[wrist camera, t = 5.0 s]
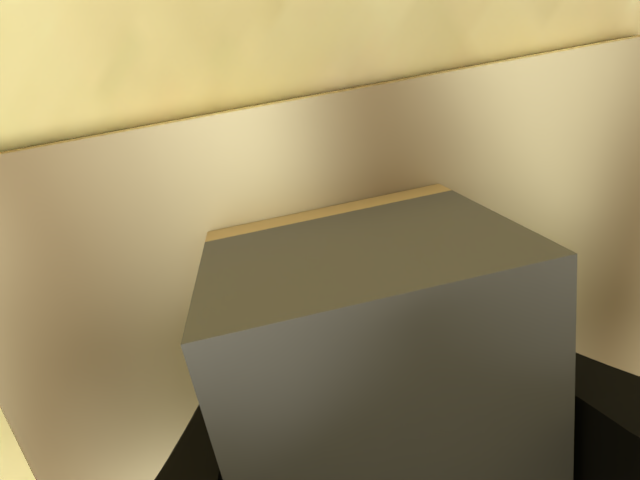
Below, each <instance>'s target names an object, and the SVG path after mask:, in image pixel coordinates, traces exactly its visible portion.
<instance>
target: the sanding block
mask: <svg viewBox="0 0 640 480" xmlns="http://www.w3.org/2000/svg"><path fill="white" fill-rule="evenodd" d="M576 306H577V253H575V252H573V251H571V250H569V249H567V248H565V247H563V246H561V245H559V244H557V243H555V242H554V241H552V240H550V239H548V238H546V237H544V236H542V235H540V234H538V233H536V232H534V231H532V230H530V229H528V228H526V227H524V226H522V225H520V224H518V223H516V222H514V221H512V220H510V219H508V218H506V217H504V216H502V215H500V214H498V213H496V212H494V211H492V210H490V209H488V208H486V207H484V206H482V205H480V204H478V203H476V202H474V201H472V200H470V199H469V198H467V197H465V196H463V195H461V194H459V193H457V192H455V191H453V190H451V189H449V188H447V187H445V186H443V185H441V184H434V185H430V186H425V187H420V188H415V189H410V190H406V191H401V192H396V193H391V194H386V195H382V196H377V197H372V198H367V199H362V200H358V201H353V202H348V203H343V204H338V205H334V206H329V207H324V208H319V209H315V210H310V211H305V212H300V213H295V214H291V215H286V216H281V217H276V218H271V219H267V220H262V221H257V222H252V223H247V224H243V225H238V226H233V227H228V228H223V229H219V230H214V231H209V232H207V235H206V240H205V244H204V248H203V252H202V256H201V261H200V265H199V269H198V273H197V277H196V281H195V286H194V290H193V294H192V298H191V302H190V307H189V311H188V315H187V319H186V323H185V327H184V332H183V336H182V340H181V344H180V345H181V348H182V351H183V355H184V358H185V361H186V364H187V367H188V371H189V374H190V377H191V380H192V383H193V386H194V390H195V393H196V396H197V399H198V402H199V406H200V409H201V412H202V415H203V418H204V421H205V425H206V428H207V431H208V434H209V437H210V441H211V444H212V447H213V450H214V453H215V456H216V460H217V463H218V466H219V469H220V472H221V476H222V479H223V480H573V471H574V416H575V361H576Z"/></svg>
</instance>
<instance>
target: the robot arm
mask: <svg viewBox="0 0 640 480" xmlns="http://www.w3.org/2000/svg"><path fill="white" fill-rule="evenodd" d="M154 480H223V479H222V476H221V472H220V469H219V466H218V463H217V460H216V456H215V453H214V450H213V447H212V444H211V441H210V437H209V434H208V431H207V428H206V425H205V421H204V418H203V415H202V412H201V409H200V406H199V405H198V407H197V409H196V410H195V412H194V414H193V416H192V418H191V419H190V421H189V423H188V425H187V427H186V428H185V430H184V432H183V434H182V435H181V437H180V439H179V440H178V442H177V444H176V445H175V447H174V449H173V451H172V452H171V454H170V456H169V457H168V459H167V461H166V462H165V464H164V465H163V467H162V469H161V470H160V472H159V473H158V475H157V476H156V478H155V479H154ZM573 480H640V376H637V375H634V374H631V373H629V372H626V371H623V370H620V369H618V368H615V367H612V366H609V365H607V364H604V363H601V362H599V361H596V360H594V359H591V358H589V357H586V356H584V355H581V354H579V353H576V361H575V416H574V471H573Z"/></svg>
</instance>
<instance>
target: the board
mask: <svg viewBox="0 0 640 480" xmlns="http://www.w3.org/2000/svg"><path fill="white" fill-rule="evenodd" d="M434 184H441V185H443V186H445V187H447V188H449V189H451V190H453V191H455V192H457V193H459V194H461V195H463V196H465V197H467V198H469V199H470V200H472V201H474V202H476V203H478V204H480V205H482V206H484V207H486V208H488V209H490V210H492V211H494V212H496V213H498V214H500V215H502V216H504V217H506V218H508V219H510V220H512V221H514V222H516V223H518V224H520V225H522V226H524V227H526V228H528V229H530V230H532V231H534V232H536V233H538V234H540V235H542V236H544V237H546V238H548V239H550V240H552V241H554V242H555V243H557V244H559V245H561V246H563V247H565V248H567V249H569V250H571V251H573V252H575V253H577V306H576V353H579V354H581V355H584V356H586V357H589V358H591V359H594V360H596V361H599V362H601V363H604V364H607V365H609V366H612V367H615V368H618V369H620V370H623V371H626V372H629V373H631V374H634V375H637V376H640V35H637V36H632V37H626V38H621V39H615V40H610V41H604V42H599V43H593V44H588V45H582V46H577V47H571V48H566V49H561V50H555V51H550V52H544V53H539V54H533V55H528V56H522V57H517V58H511V59H506V60H500V61H495V62H490V63H484V64H479V65H473V66H468V67H462V68H457V69H451V70H446V71H440V72H435V73H429V74H424V75H419V76H413V77H408V78H402V79H397V80H391V81H386V82H380V83H375V84H369V85H364V86H359V87H353V88H348V89H342V90H337V91H331V92H326V93H320V94H315V95H309V96H304V97H298V98H293V99H288V100H282V101H277V102H271V103H266V104H260V105H255V106H249V107H244V108H238V109H233V110H227V111H222V112H217V113H211V114H206V115H200V116H195V117H189V118H184V119H178V120H173V121H167V122H162V123H156V124H151V125H146V126H140V127H135V128H129V129H124V130H118V131H113V132H107V133H102V134H96V135H91V136H86V137H80V138H75V139H69V140H64V141H58V142H53V143H47V144H42V145H36V146H31V147H25V148H20V149H15V150H9V151H4V152H0V407H1V409H2V411H3V414H4V416H5V418H6V420H7V422H8V424H9V426H10V428H11V430H12V432H13V434H14V436H15V438H16V440H17V442H18V444H19V446H20V448H21V450H22V452H23V454H24V456H25V459H26V461H27V463H28V465H29V467H30V469H31V471H32V473H33V475H34V477H35V479H36V480H154V479H155V478H156V476H157V475H158V473H159V472H160V470H161V469H162V467H163V465H164V464H165V462H166V461H167V459H168V457H169V456H170V454H171V452H172V451H173V449H174V447H175V445H176V444H177V442H178V440H179V439H180V437H181V435H182V434H183V432H184V430H185V428H186V427H187V425H188V423H189V421H190V419H191V418H192V416H193V414H194V412H195V410H196V409H197V407H198V405H199V402H198V399H197V396H196V393H195V390H194V386H193V383H192V380H191V377H190V374H189V371H188V367H187V364H186V361H185V358H184V355H183V351H182V348H181V345H180V344H181V340H182V336H183V332H184V327H185V323H186V319H187V315H188V311H189V307H190V302H191V298H192V294H193V290H194V286H195V281H196V277H197V273H198V269H199V265H200V261H201V256H202V252H203V248H204V244H205V240H206V235H207V232H209V231H214V230H219V229H223V228H228V227H233V226H238V225H243V224H247V223H252V222H257V221H262V220H267V219H271V218H276V217H281V216H286V215H291V214H295V213H300V212H305V211H310V210H315V209H319V208H324V207H329V206H334V205H338V204H343V203H348V202H353V201H358V200H362V199H367V198H372V197H377V196H382V195H386V194H391V193H396V192H401V191H406V190H410V189H415V188H420V187H425V186H430V185H434Z"/></svg>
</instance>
